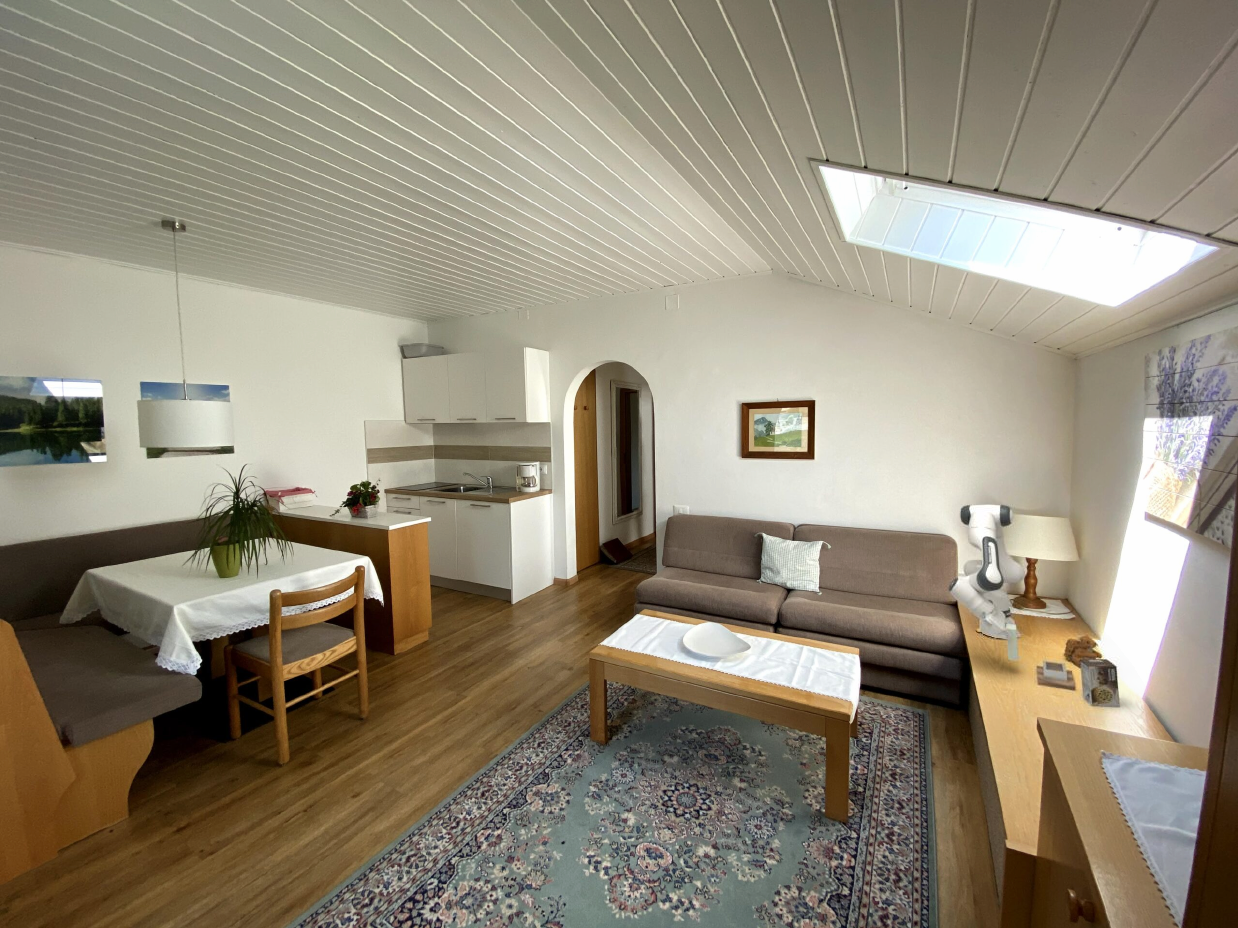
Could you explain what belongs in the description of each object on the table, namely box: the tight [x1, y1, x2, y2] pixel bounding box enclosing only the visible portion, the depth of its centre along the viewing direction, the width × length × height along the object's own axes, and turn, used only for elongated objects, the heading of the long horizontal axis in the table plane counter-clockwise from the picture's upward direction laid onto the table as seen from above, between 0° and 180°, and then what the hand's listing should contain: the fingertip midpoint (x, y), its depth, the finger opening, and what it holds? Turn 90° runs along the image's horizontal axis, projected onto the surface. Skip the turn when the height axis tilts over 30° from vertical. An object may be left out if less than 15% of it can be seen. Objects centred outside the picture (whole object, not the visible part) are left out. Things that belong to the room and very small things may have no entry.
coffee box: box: [1080, 658, 1121, 707], centre depth 203 cm, size 9×6×16 cm
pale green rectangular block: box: [1006, 624, 1019, 662], centre depth 231 cm, size 6×4×14 cm, turn 143°
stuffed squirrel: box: [1063, 634, 1103, 669], centre depth 234 cm, size 10×14×13 cm
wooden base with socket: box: [1036, 660, 1076, 691], centre depth 223 cm, size 16×12×6 cm
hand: (1011, 633), depth 231 cm, fingers closed on pale green rectangular block, 6 cm apart
